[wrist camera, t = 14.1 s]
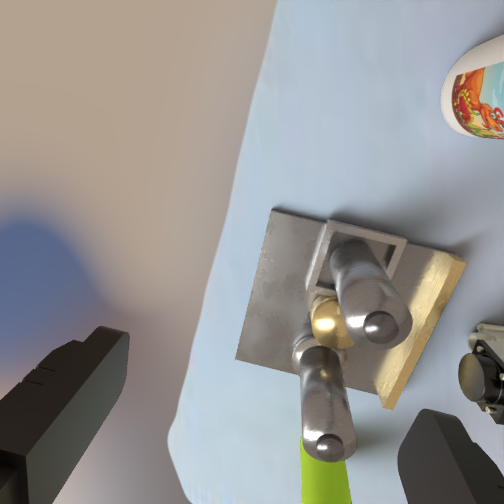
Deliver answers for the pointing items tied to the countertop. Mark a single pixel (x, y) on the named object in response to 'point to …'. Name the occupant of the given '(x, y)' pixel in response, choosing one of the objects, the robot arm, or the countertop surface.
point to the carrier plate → (294, 322)
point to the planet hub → (368, 299)
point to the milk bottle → (476, 92)
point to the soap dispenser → (323, 481)
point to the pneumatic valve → (485, 370)
